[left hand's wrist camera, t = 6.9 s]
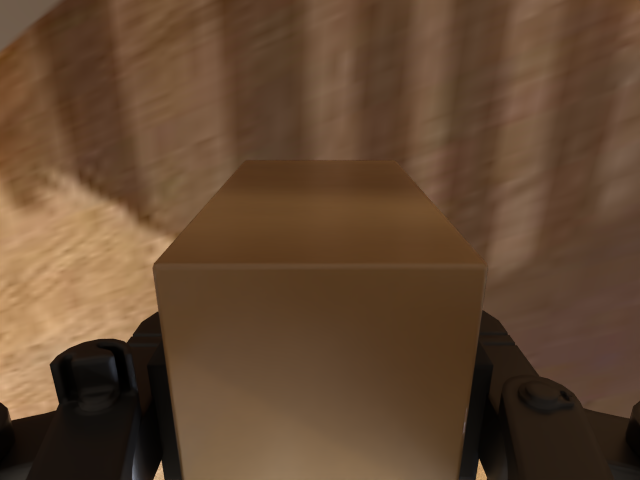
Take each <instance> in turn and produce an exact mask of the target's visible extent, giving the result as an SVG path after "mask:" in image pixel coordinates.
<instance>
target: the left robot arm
mask: <svg viewBox="0 0 640 480" xmlns="http://www.w3.org/2000/svg"><path fill="white" fill-rule="evenodd" d="M50 368H51V372H52V376H53V380H54V384H55V389H56V393H57V397H58V401H59V405H58V408H57V410H56V411H52V412H48V413H45V414H40V415H35V416H31V417H26V418H21V419H16V420H12V421H11V418H10V415H9V411H8V408H7V407H5V406H4V405H3V404H2V403H0V480H153V479H154V477H155V474H156V472H157V469H158V467H159V464H160V462H161V460H162V466H163V472H164V479H165V480H182V476H181V469H180V462H179V455H178V448H177V440H176V433H175V426H174V419H173V411H172V404H171V397H170V390H169V383H168V375H167V368H166V361H165V354H164V347H163V339H162V332H161V325H160V318H159V312H156V313H155V314H153V315H152V316H150V317H149V318H147V319H146V320H144V321H143V322H142V323H141V324H140V325H139V327H138V328H137V329H136V331H135V332H134V334H133V337H131V338H130V339H129V341H128V342H127V343H126V342H124V341H121V340H117V339H97V340H92V341H88V342H84V343H81V344H78V345H76V346H73V347H71V348H69V349H67V350H66V351H64V352H62V353H61V354H59V355H58V356H57V357H56V358H55V359H54V360H53V361H52V362H51V364H50ZM479 459H480V461H481V464H482V466H483V469H484V471H485V473H486V476H487V480H640V401H639V402H638V403H637V404H636V405H634V406H633V409H632V413H631V416H630V419H628V418H624V417H619V416H614V415H609V414H605V413H600V412H595V411H592V410H588V409H584V408H583V407H582V405H581V403H580V401H579V400H578V399H577V397H576V396H575V395H574V393H572V392H571V391H570V390H568V389H567V388H565V387H564V386H563V385H561V384H559V383H556V382H554V381H552V380H550V379H547V378H543V377H539V375H538V374H537V372H536V371H535V370H534V368H533V367H532V366H531V364H530V363H529V361H528V360H527V359H526V357H525V356H524V355H523V353H522V352H521V351H520V349H519V348H518V346H517V345H515V342H514V341H513V340H512V338H511V337H510V335H508V333H507V331H506V330H505V329H504V327H503V326H502V324H501V323H500V322H499V321H498V320H497V319H495V318H494V317H492V316H491V315H489V314H488V313H486V312H485V311H483V310H482V316H481V323H480V330H479V337H478V344H477V352H476V359H475V366H474V373H473V380H472V387H471V394H470V402H469V409H468V416H467V423H466V430H465V437H464V445H463V452H462V459H461V466H460V473H459V480H476V474H477V468H478V461H479Z"/></svg>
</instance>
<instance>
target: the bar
mask: <svg viewBox="0 0 640 480" xmlns="http://www.w3.org/2000/svg"><path fill="white" fill-rule="evenodd" d="M487 273H488V266H487V263H486V262H485V261H484V260H483V259H482V258H481V257H480V255H479V254H478V253H477V252H476V251H475V250H474V249H473V248H472V246H471V245H470V244H469V243H468V242H467V241H466V240H465V239H464V237H463V236H462V235H461V234H460V233H459V232H458V231H457V230H456V228H455V227H454V226H453V225H452V224H451V223H450V222H449V221H448V219H447V218H446V217H445V216H444V215H443V214H442V213H441V212H440V210H439V209H438V208H437V207H436V206H435V205H434V204H433V203H432V201H431V200H430V199H429V198H428V197H427V196H426V195H425V194H424V193H423V191H422V190H421V189H420V188H419V187H418V186H417V185H416V184H415V182H414V181H413V180H412V179H411V178H410V177H409V176H408V175H407V173H406V172H405V171H404V170H403V169H402V168H401V167H400V166H399V164H398V163H397V162H396V161H394V160H246V161H244V162H243V164H242V165H241V166H240V167H239V168H238V169H237V170H236V171H235V173H234V174H233V175H232V176H231V177H230V178H229V179H228V180H227V182H226V183H225V184H224V185H223V186H222V187H221V188H220V190H219V191H218V192H217V193H216V194H215V195H214V196H213V197H212V199H211V200H210V201H209V202H208V203H207V204H206V205H205V206H204V208H203V209H202V210H201V211H200V212H199V213H198V214H197V216H196V217H195V218H194V219H193V220H192V221H191V222H190V223H189V225H188V226H187V227H186V228H185V229H184V230H183V231H182V232H181V234H180V235H179V236H178V237H177V238H176V239H175V240H174V242H173V243H172V244H171V245H170V246H169V247H168V248H167V249H166V251H165V252H164V253H163V254H162V255H161V256H160V257H159V258H158V260H157V261H156V262H155V263H154V265H153V275H154V282H155V289H156V296H157V303H158V311H159V318H160V325H161V332H162V339H163V347H164V354H165V361H166V368H167V375H168V383H169V390H170V397H171V404H172V411H173V419H174V426H175V433H176V440H177V448H178V455H179V462H180V469H181V476H182V480H459V473H460V466H461V459H462V452H463V445H464V437H465V430H466V423H467V416H468V409H469V402H470V394H471V387H472V380H473V373H474V366H475V359H476V352H477V344H478V337H479V330H480V323H481V316H482V309H483V301H484V294H485V287H486V280H487Z"/></svg>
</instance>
